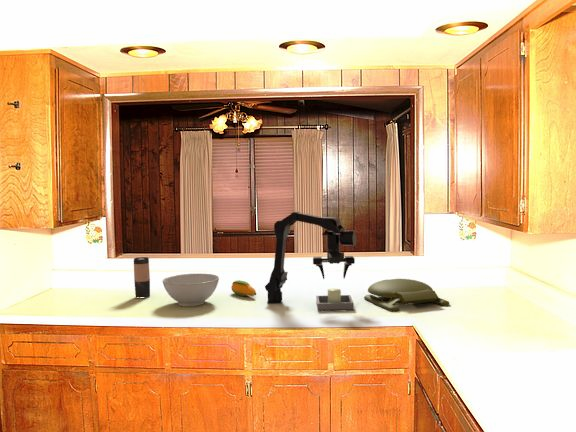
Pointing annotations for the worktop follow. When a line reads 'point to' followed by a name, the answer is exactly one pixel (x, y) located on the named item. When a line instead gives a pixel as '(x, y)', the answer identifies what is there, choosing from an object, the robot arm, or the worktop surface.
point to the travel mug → (142, 277)
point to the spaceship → (402, 293)
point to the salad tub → (334, 296)
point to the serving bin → (335, 304)
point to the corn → (242, 288)
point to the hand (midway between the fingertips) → (333, 278)
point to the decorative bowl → (191, 288)
